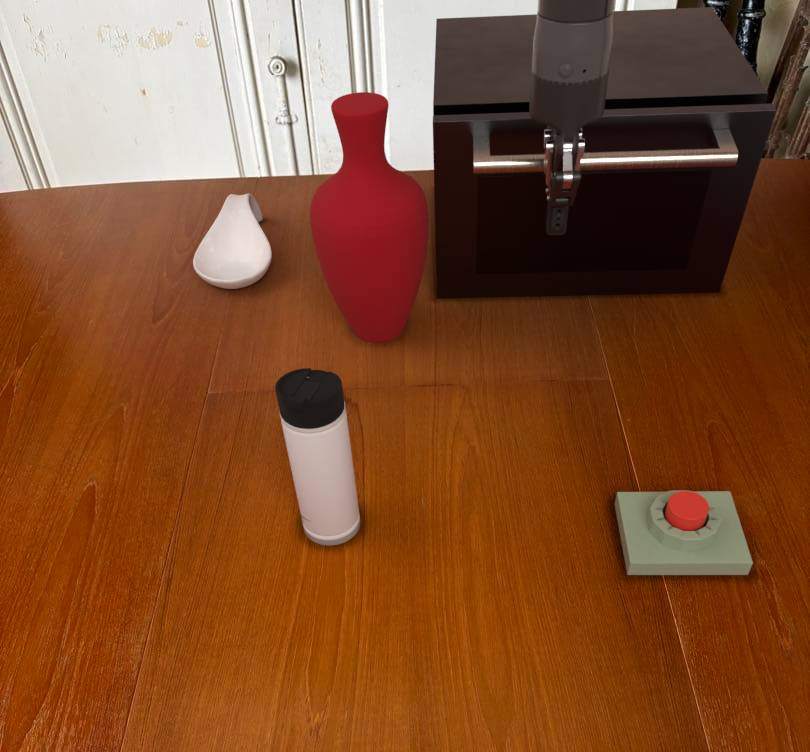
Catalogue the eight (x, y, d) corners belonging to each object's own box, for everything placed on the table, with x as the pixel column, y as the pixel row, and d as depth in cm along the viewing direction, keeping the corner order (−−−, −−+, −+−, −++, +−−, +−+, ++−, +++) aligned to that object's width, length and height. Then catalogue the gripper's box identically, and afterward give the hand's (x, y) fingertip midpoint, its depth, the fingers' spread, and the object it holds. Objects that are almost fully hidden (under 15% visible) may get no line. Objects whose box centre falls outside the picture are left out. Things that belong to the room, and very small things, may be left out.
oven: (716, 287, 116) (768, 93, 97) (437, 293, 119) (433, 105, 99) (675, 183, 137) (712, 6, 118) (439, 190, 140) (436, 18, 120)
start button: (701, 502, 84) (704, 490, 83) (709, 531, 82) (713, 519, 80) (661, 502, 84) (665, 490, 83) (668, 531, 82) (672, 519, 81)
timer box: (725, 505, 89) (734, 479, 86) (747, 576, 82) (758, 551, 79) (614, 505, 89) (619, 479, 86) (626, 576, 83) (633, 551, 80)
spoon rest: (273, 298, 120) (264, 253, 115) (194, 303, 120) (181, 258, 115) (282, 219, 136) (275, 176, 130) (212, 224, 136) (202, 181, 130)
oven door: (726, 319, 112) (788, 134, 91) (436, 324, 114) (432, 146, 94) (717, 287, 116) (773, 103, 95) (436, 293, 119) (432, 115, 98)
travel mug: (294, 543, 88) (260, 397, 73) (316, 500, 92) (289, 354, 77) (348, 554, 87) (325, 408, 72) (368, 511, 91) (351, 364, 76)
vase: (448, 312, 115) (446, 85, 93) (404, 372, 107) (390, 137, 84) (356, 292, 120) (332, 71, 97) (307, 348, 111) (269, 119, 89)
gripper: (618, 88, 74) (595, 261, 88) (601, 38, 83) (582, 202, 96) (536, 92, 75) (525, 263, 88) (527, 42, 84) (518, 205, 97)
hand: (555, 231), depth 92 cm, fingers closed
